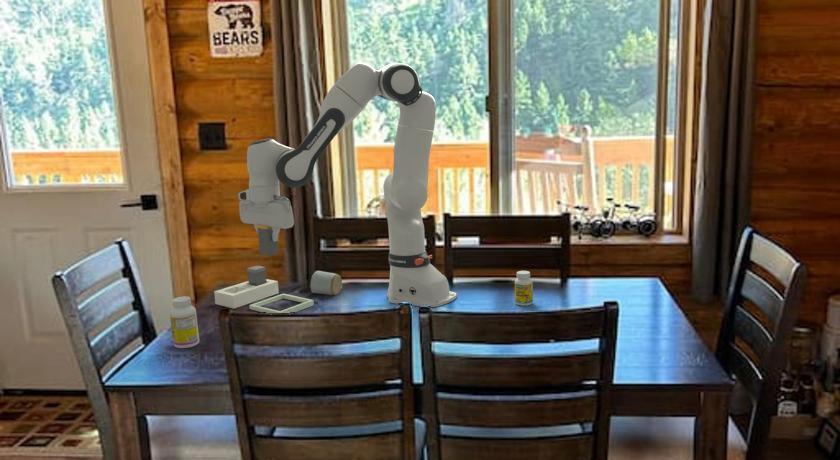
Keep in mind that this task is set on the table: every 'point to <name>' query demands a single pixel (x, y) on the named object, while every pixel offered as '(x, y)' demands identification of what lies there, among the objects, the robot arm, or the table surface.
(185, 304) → the supplement bottle
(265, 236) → the grey plug
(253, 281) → the twin plug
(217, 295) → the socket strip
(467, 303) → the table surface
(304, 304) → the white square frame
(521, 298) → the supplement bottle
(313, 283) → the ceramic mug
